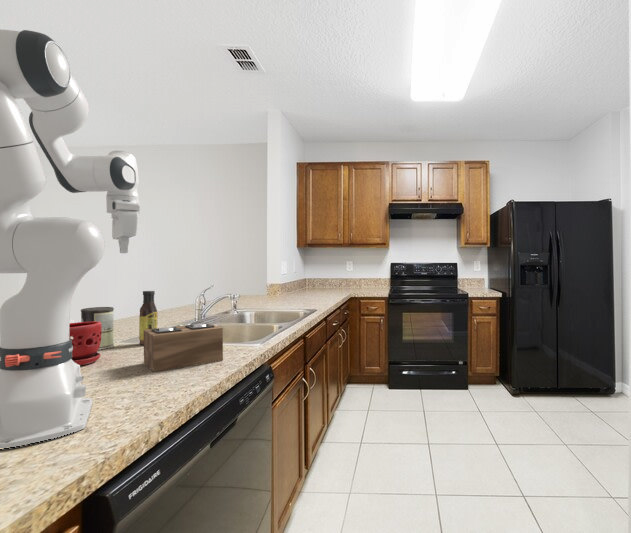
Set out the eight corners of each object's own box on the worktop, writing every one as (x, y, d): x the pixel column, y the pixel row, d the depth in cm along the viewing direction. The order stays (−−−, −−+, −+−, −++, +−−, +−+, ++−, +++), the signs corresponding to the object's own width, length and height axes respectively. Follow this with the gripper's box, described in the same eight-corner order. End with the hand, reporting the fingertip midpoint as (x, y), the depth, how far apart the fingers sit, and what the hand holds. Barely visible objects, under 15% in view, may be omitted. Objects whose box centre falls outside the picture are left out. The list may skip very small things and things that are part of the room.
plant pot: (105, 356, 123) (105, 319, 123) (97, 366, 111) (96, 325, 111) (58, 360, 119) (57, 322, 119) (44, 371, 106) (43, 328, 106)
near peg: (175, 362, 112) (175, 328, 112) (161, 364, 109) (161, 329, 109) (171, 359, 115) (171, 326, 115) (157, 361, 112) (157, 328, 112)
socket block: (222, 360, 116) (222, 326, 116) (154, 372, 104) (153, 334, 104) (208, 353, 126) (208, 321, 126) (143, 363, 114) (143, 328, 114)
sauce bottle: (150, 345, 138) (150, 291, 138) (135, 345, 139) (134, 291, 139) (161, 342, 144) (160, 290, 144) (146, 341, 146) (146, 290, 146)
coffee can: (77, 351, 130) (76, 310, 130) (85, 345, 140) (85, 307, 140) (110, 349, 133) (110, 309, 133) (116, 343, 143) (116, 306, 143)
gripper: (106, 210, 121) (107, 254, 121) (116, 202, 104) (117, 252, 105) (128, 212, 125) (128, 254, 125) (141, 203, 108) (142, 252, 108)
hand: (123, 253), depth 115 cm, fingers closed
